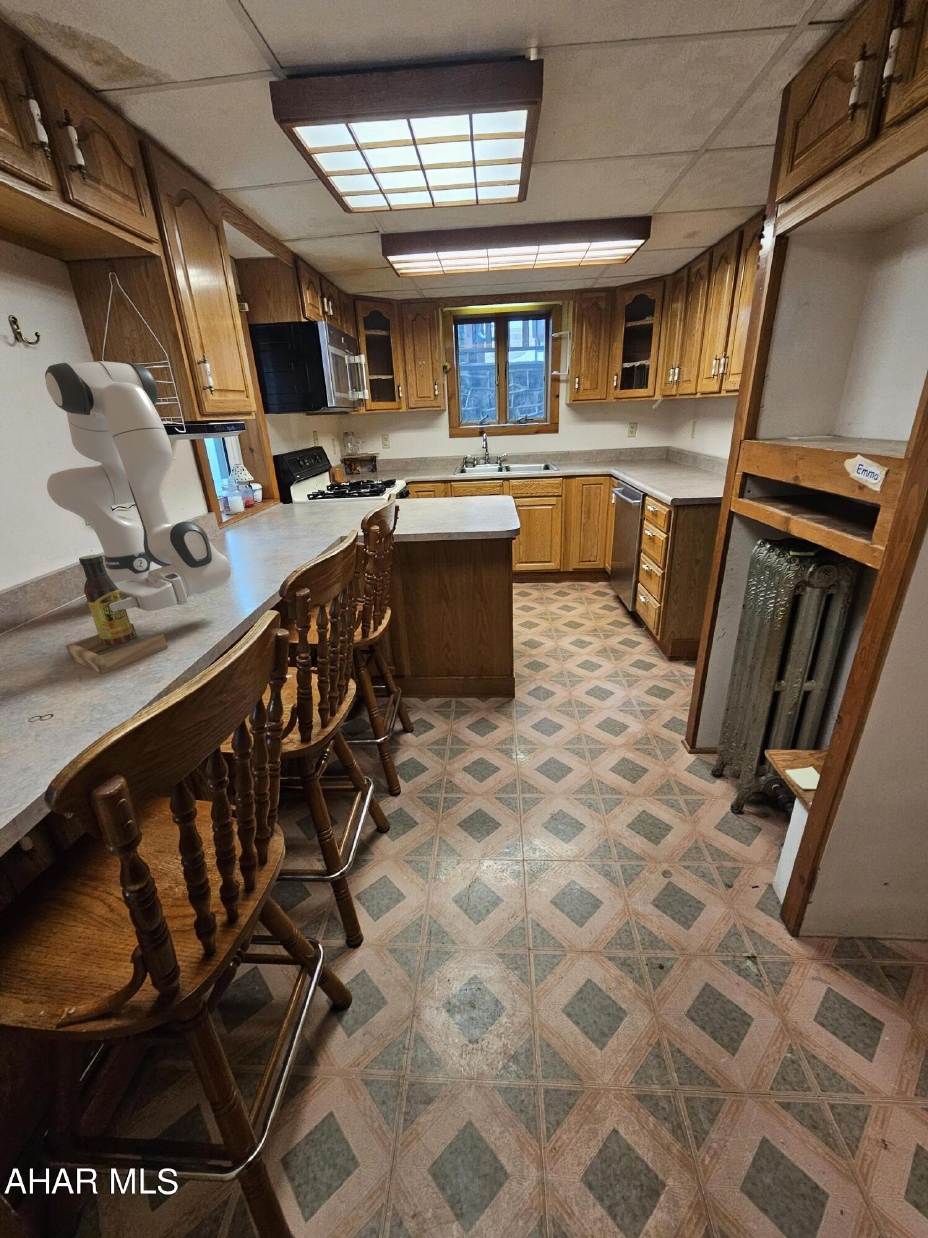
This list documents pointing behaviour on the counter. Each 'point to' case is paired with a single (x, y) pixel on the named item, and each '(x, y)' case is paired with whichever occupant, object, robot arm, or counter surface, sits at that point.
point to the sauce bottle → (104, 602)
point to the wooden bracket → (113, 652)
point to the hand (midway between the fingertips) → (101, 605)
